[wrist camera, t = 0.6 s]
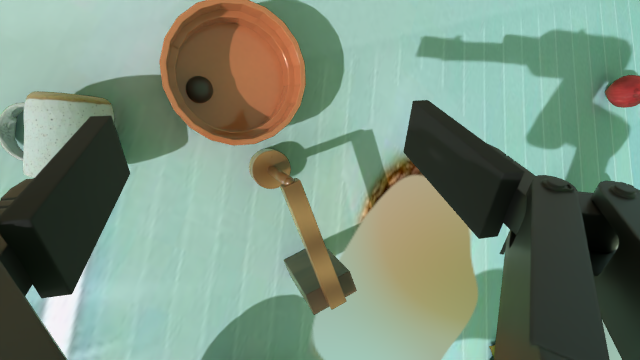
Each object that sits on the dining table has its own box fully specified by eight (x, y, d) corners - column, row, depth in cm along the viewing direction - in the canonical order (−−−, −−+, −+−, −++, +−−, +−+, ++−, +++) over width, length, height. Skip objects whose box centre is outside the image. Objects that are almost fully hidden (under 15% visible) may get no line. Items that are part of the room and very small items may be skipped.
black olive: (216, 98, 41) (218, 97, 38) (192, 106, 40) (192, 106, 38) (206, 73, 40) (207, 70, 38) (181, 81, 40) (180, 79, 37)
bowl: (307, 115, 46) (322, 116, 41) (199, 159, 42) (200, 166, 37) (265, -3, 42) (276, -20, 36) (140, 34, 38) (131, 21, 32)
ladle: (322, 256, 51) (357, 295, 40) (292, 272, 50) (320, 316, 39) (278, 142, 45) (305, 152, 35) (243, 157, 44) (260, 171, 33)
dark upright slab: (326, 257, 51) (356, 290, 42) (290, 276, 50) (314, 315, 40) (320, 241, 50) (349, 271, 41) (283, 259, 49) (305, 295, 39)
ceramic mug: (120, 98, 38) (102, 95, 31) (123, 170, 40) (106, 183, 32) (1, 90, 35) (-50, 84, 27) (9, 169, 36) (-38, 183, 29)
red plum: (607, 112, 68) (658, 112, 60) (591, 100, 65) (642, 99, 58) (619, 84, 67) (671, 81, 60) (603, 72, 65) (656, 67, 58)
